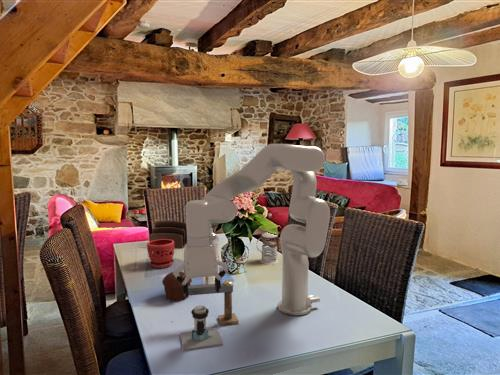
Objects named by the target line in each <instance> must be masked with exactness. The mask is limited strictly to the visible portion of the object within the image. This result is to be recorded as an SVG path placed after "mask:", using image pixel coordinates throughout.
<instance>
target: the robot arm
mask: <svg viewBox="0 0 500 375" xmlns="http://www.w3.org/2000/svg"><path fill="white" fill-rule="evenodd" d="M325 161H326V156H325V154H324V151H323V150H322V149H321V148H319V147H318V146H311V145H310V146H308V145H307V146H306V145H298V144H297V145H295V144H289V143H270V144H269V143H268V144H267V145H265V146H264V147H263V148H261V149H260V151H259V152H257V153H256V155H255V156H253V157H252V158H251V160H249V161H248V162H247V163H246V165H244V166H243V167H242V168H241V169H240V170H238V171H237V172H234V173H233V174H231V175H230V176H228V177H225V179H224V178H223V180H221V181H219V183H217V184H216V185H215V186H214V187H212V188H211V189H210V190H209V191H208V193H207V194H205V196H203V198H202V199H194V200H189V201H188V202H186V204H185V223H186V227H187V244H186V245H185V247H184V250H183V263H182V264H180V265H179V266H178V267H176V268H175V269H173V270H172V272H173V274H174V276H175V277H176V279H177V280H178V281H179V282H180V283H182V285H183V294H185V295H186V297H188V298H189V296H188V284H187V282H188V281H189V279H190V278H191V279H196V278H197V279H199V278H203V277H206V276H213V275H214V276H215V290H216V292H217V293H216V294H220V293H219V289H221V280H222V278H223V277H224V276H225V275H226V272H227V271H228V268H229V264H228V263H227V262H224V261H220V259H219V260H217V257H216V250H215V246H214V243H213V242H212V241H213V240H215V239H216V235H217V234H216V235H212V233H211V228H212V224H218V223H219V224H222V223H223V224H224V223H226V224H227V223H229V222H232V221H233V220H234V219H235V218H236V216H237V214H238V207H237V204H236V203H235V202H234V201H232V199H234V198H235V197H237V196H240V195H242V194H246V193H250V192H253V191H256V190H258V189H260V188H261V187H262V186H263V185H264V184H265V183H266V181H268V180H269V179H270V178H271V177H272V176H273V174H275V173H276V172H277V171H279V170H281V171H289V172H290V173H291V177H292V181H293V182H292V190H291V195H290V201H289V208H288V214H289V217H290V218H291V219H293V220H295V221H296V222H300V223H303V224H305V226H303V225H300V224H296V223H295V224H294V223H291V224H288V225H286V226H284V228H282V230H281V231H280V237H279V241H280V248H281V253H282V254H281V256H282V258H281V259H282V264H281V265H282V268H281V270H282V273H281V274H282V276H281V278H282V279H281V300H280V301H279V302H278V303H277V309H278V311H280V312H281V313H283V314H285V315H289V316H303V315H308V314H309V313H310V312H311V311H312V309H313V308H312V304H313V303H320V302H321V300H320V298H321V297H319V296H315V297H314V295H313V294H312V295H309V293H308V292H309V265H310V264H309V259H308V258H317V257H319V256H320V255H321V253H323V251H324V248H325V246H326V242H327V236H328V230H329V224H330V219H331V210H330V206H329V204H328V203H327V201H326V200H324V199H321V198H318V197H316V194H317V186H318V182H317V176H316V174H315V172H318V171H319V170H321V169H322V168H323V167H324V165H325ZM218 265H219V267H221V268H222V269H221V270H219V273H218ZM179 272H184V273H185V275H184V277H183V278H182V277H181V276H180V275H179V274H178V273H179Z"/></svg>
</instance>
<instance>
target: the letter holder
mask: <svg viewBox="0 0 500 375" xmlns="http://www.w3.org/2000/svg"><path fill="white" fill-rule="evenodd" d="M148 237H149V238H148V239H149V241H148V242H150V241H153V240H159V239H170V240H173V241H174V249H180V250H181V249H182V250H183V248H185V245H186V244H187V227H186V222H184V221H177V220H158V221H155V222H154V227H153V228H152V229H151V234H149V235H148ZM160 245H161V244H160Z"/></svg>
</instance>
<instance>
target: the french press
mask: <svg viewBox="0 0 500 375" xmlns="http://www.w3.org/2000/svg"><path fill="white" fill-rule="evenodd" d="M272 216H273V215H272V213H268V216H267V217H272ZM268 232H269V231H266V232H263V233H262V234H261V237H260V238H258V239H257V241H256V243H258V242H259V241H260V240H263V238H267V239H268V240H265V241H262V246H261V250H260V249H259V248H258V246H256V248H257V250H258V252H260V253H261V258H260V260H259V262H260V263H261V264H265V265H276V264H278V263H279V262H280V261H279V260H278V245H277V242H276V241H272V240H271V239H274V238H277V237H278V234H277V235H274V234H270V233H268Z"/></svg>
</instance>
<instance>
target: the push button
mask: <svg viewBox="0 0 500 375" xmlns="http://www.w3.org/2000/svg"><path fill="white" fill-rule="evenodd" d="M209 312H210V311H209V308H207V307H206V306H204V305H197V306H194V308H193V309H192V310H191V311H190V313H191V315H192V318H193V320H194V322H193V323H194V324H193V325H194V328H193V329H191V331H192V338H193V340H194V341H197V340H203V339H207V338H208V336H210V334H208V333H211V332H213V331H208V330H207V329H208V328H207V317H208V316H209ZM212 335H213V334H212Z"/></svg>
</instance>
